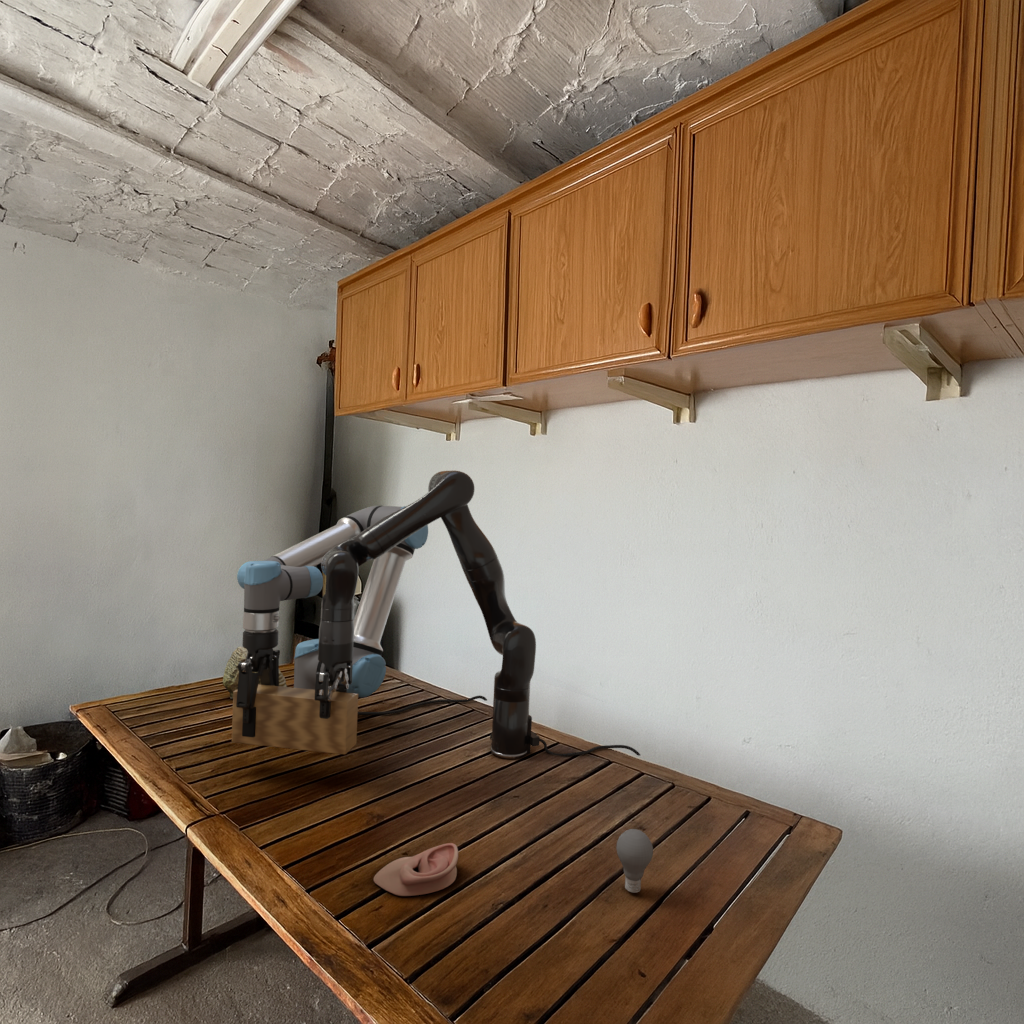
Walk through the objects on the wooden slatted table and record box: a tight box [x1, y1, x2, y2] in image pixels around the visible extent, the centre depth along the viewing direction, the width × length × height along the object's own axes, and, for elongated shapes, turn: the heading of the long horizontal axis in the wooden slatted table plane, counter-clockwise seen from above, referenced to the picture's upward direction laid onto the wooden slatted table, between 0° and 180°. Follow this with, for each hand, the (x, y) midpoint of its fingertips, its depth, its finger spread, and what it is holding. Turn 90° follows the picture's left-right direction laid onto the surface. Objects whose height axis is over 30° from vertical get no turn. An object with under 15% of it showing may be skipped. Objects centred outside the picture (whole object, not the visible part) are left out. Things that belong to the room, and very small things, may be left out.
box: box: [231, 684, 359, 755], centre depth 142 cm, size 27×6×12 cm, turn 81°
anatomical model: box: [373, 842, 459, 897], centre depth 107 cm, size 13×4×12 cm
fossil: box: [222, 646, 288, 699], centre depth 198 cm, size 9×18×15 cm, turn 132°
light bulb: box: [615, 828, 654, 894], centre depth 106 cm, size 6×6×10 cm
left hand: (257, 730), depth 144 cm, fingers closed on box, 6 cm apart
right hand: (333, 711), depth 141 cm, fingers open, 8 cm apart
